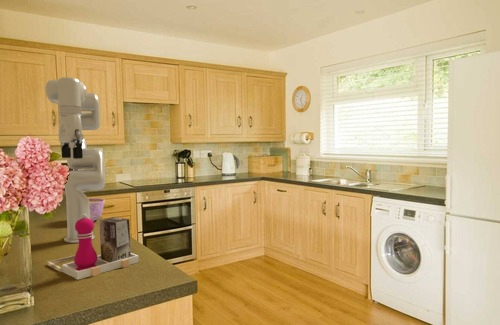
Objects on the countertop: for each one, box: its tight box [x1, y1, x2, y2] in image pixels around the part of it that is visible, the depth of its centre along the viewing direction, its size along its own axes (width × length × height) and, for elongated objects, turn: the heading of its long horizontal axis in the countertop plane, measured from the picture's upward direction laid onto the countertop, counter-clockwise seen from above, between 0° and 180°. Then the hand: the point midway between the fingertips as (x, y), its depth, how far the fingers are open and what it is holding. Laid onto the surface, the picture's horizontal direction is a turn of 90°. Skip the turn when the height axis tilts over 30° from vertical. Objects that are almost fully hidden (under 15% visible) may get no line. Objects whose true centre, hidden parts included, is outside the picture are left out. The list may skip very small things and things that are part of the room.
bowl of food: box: [88, 197, 106, 222], centre depth 209 cm, size 20×20×12 cm
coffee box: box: [99, 216, 131, 262], centre depth 136 cm, size 9×6×16 cm
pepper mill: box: [73, 214, 98, 271], centre depth 127 cm, size 7×7×20 cm
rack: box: [61, 252, 140, 280], centre depth 132 cm, size 13×22×2 cm, turn 139°
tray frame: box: [46, 254, 76, 273], centre depth 136 cm, size 11×11×1 cm
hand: (72, 158), depth 140 cm, fingers open, 9 cm apart
